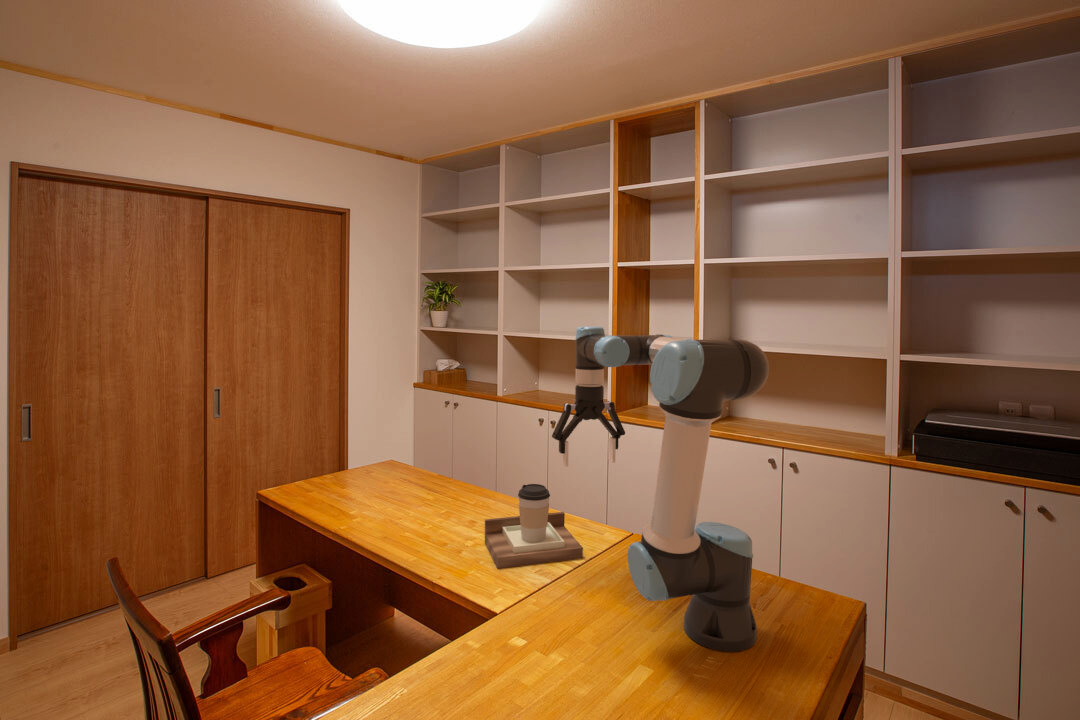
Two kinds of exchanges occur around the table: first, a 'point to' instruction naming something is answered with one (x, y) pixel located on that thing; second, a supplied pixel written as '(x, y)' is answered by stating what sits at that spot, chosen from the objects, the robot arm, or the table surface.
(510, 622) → the table surface
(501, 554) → the shelf
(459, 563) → the table surface
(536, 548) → the tray
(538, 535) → the coffee cup
